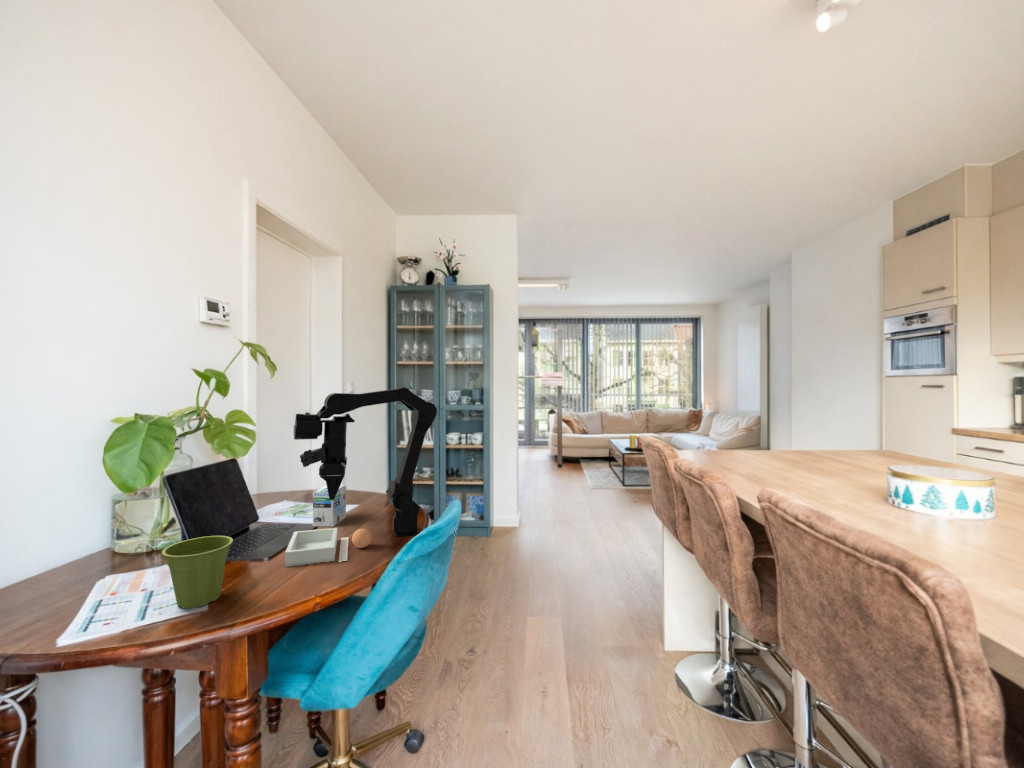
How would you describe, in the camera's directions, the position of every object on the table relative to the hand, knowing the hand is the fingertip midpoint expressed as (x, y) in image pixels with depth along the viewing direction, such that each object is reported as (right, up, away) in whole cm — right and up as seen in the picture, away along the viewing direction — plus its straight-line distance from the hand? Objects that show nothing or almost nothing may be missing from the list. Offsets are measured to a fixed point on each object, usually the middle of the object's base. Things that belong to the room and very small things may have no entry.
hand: (332, 495), depth 124 cm
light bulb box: (-9, -14, +20) cm, 26 cm away
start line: (+4, -13, -4) cm, 15 cm away
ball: (+9, -11, -2) cm, 14 cm away
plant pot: (-14, -13, -32) cm, 38 cm away
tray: (-3, -13, -6) cm, 15 cm away
